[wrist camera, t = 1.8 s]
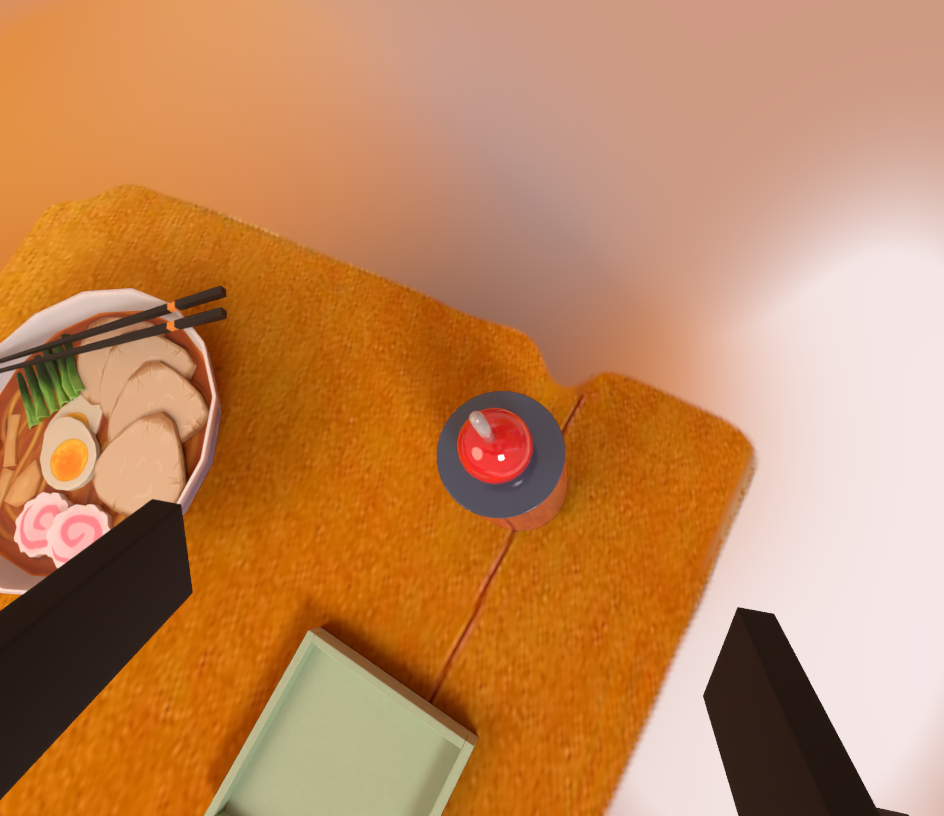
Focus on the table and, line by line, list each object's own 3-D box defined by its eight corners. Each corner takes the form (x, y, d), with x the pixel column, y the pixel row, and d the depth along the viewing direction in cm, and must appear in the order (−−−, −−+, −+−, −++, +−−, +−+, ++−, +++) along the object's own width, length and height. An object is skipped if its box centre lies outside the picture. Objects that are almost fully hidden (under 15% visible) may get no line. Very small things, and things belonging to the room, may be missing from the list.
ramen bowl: (7, 615, 42) (-119, 627, 35) (36, 360, 49) (-63, 322, 42) (292, 564, 39) (223, 564, 31) (279, 298, 46) (220, 245, 38)
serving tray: (479, 737, 33) (474, 746, 32) (375, 949, 31) (364, 971, 30) (320, 626, 37) (308, 629, 36) (218, 808, 35) (200, 820, 33)
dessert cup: (586, 501, 36) (596, 446, 19) (501, 548, 37) (438, 536, 20) (536, 420, 39) (508, 308, 22) (457, 465, 39) (367, 389, 22)
